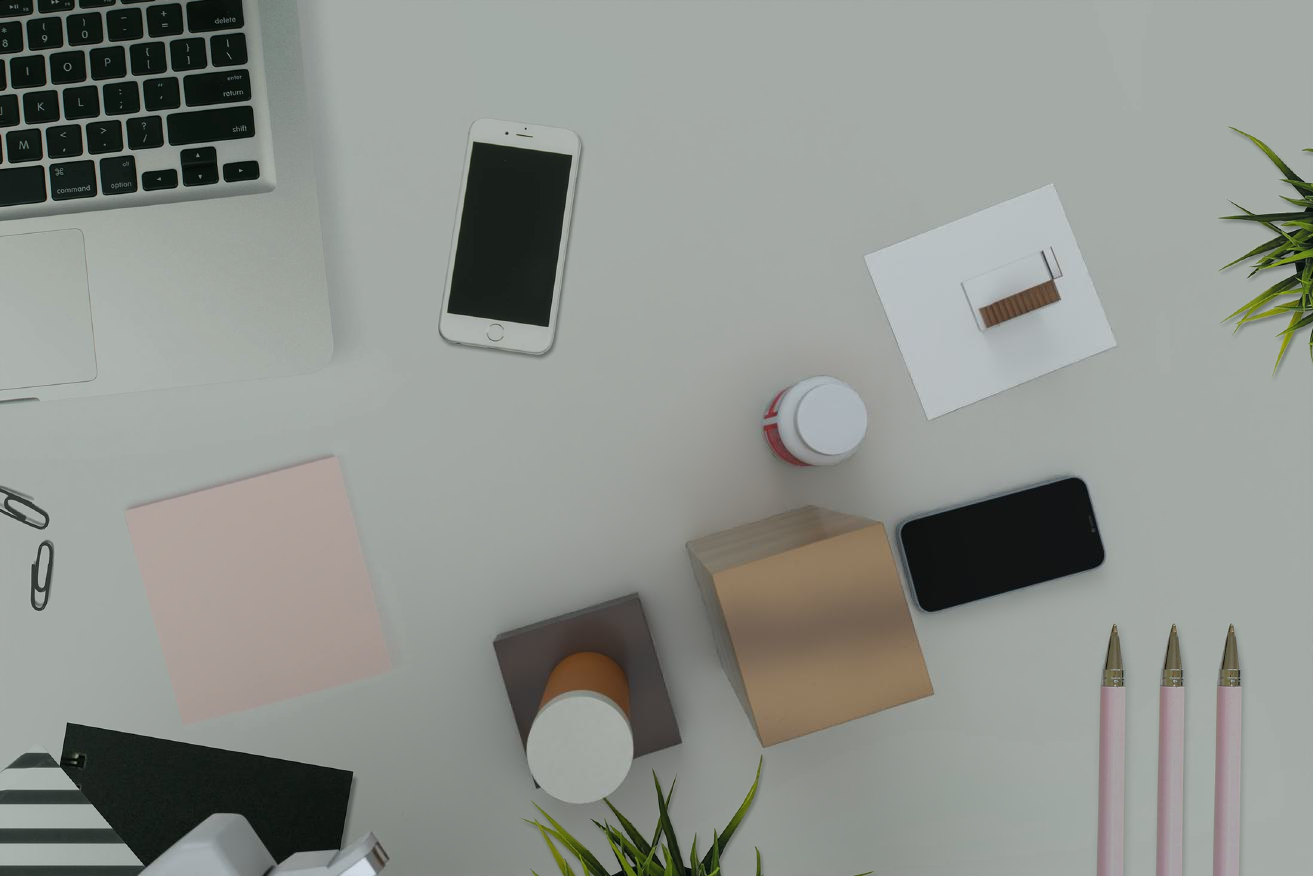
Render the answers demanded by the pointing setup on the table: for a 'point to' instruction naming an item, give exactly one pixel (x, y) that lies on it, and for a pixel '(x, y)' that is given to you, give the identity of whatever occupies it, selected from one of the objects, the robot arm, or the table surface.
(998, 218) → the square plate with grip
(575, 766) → the amber bottle
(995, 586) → the smartphone
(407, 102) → the table surface
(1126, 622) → the table surface
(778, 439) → the pill bottle
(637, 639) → the walnut block
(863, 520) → the oak stand
